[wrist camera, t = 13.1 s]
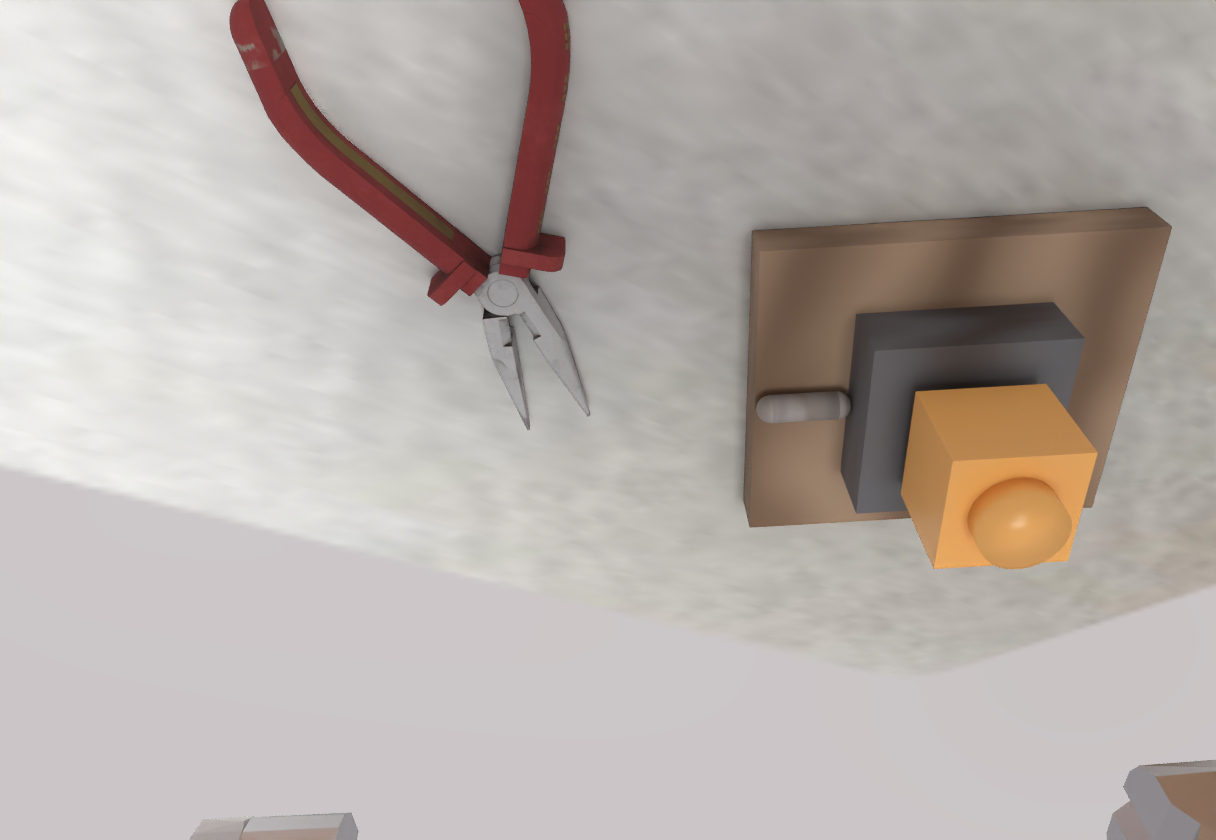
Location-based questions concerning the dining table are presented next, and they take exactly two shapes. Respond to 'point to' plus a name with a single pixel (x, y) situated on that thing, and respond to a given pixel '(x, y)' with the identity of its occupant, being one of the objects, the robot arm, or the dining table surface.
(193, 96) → the dining table surface
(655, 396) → the dining table surface
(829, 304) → the board
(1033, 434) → the orange knobbed cube
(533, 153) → the pliers
